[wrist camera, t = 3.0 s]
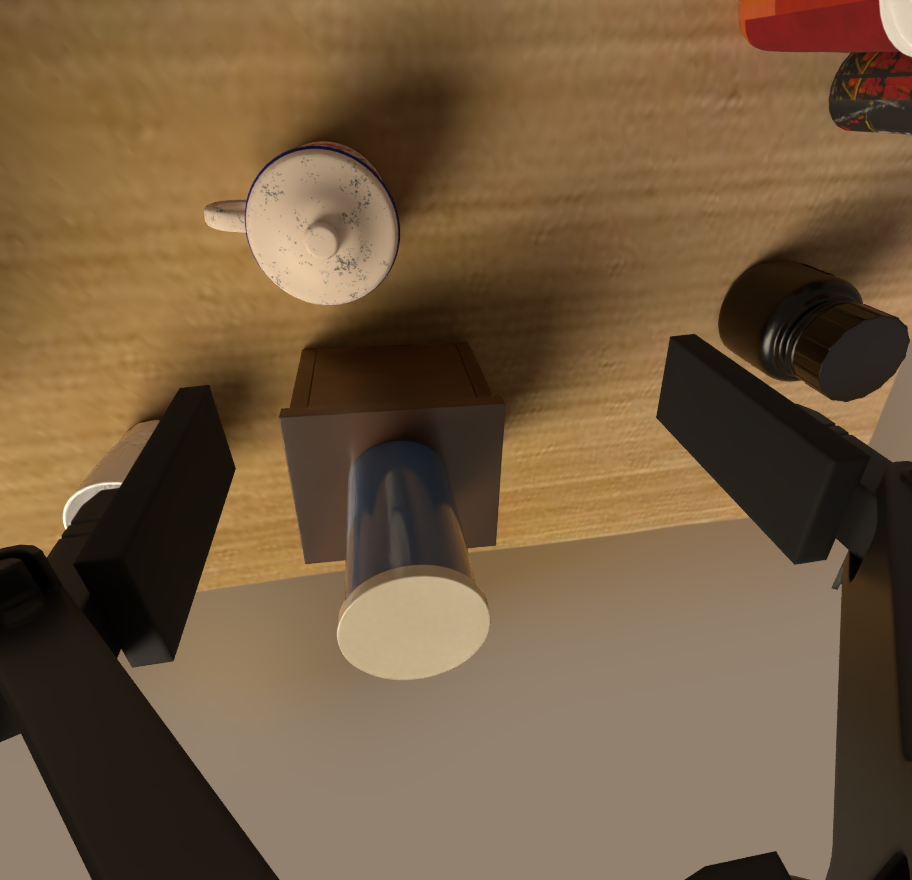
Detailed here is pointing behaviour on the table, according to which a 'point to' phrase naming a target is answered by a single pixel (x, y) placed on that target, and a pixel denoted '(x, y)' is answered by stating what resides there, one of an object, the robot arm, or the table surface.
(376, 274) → the teacup with lid
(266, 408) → the table surface
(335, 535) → the brown miniature bookshelf
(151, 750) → the robot arm
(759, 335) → the ink bottle
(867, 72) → the deodorant
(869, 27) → the coffee cup
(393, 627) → the blue lidded mug
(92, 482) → the white cup
